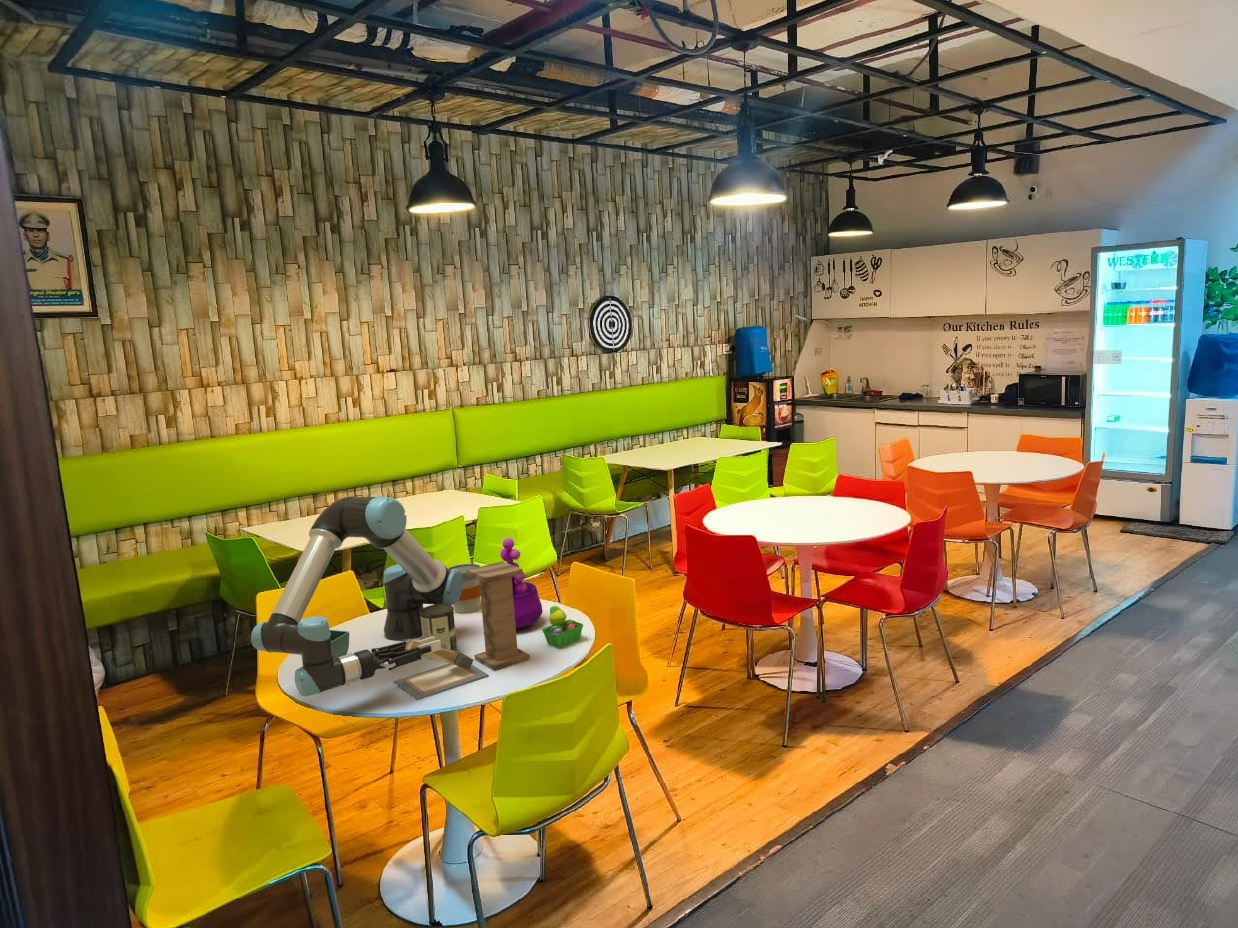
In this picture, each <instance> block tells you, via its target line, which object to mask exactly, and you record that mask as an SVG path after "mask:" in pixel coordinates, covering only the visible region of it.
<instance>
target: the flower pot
mask: <svg viewBox="0 0 1238 928" xmlns="http://www.w3.org/2000/svg"><path fill="white" fill-rule="evenodd" d="M329 630H330V632H331V644H332V653H333V659H334V658H337V657H340V656H344V655H347V654H348V652H349V647H350V631H347V630H339V629H335V630H334V629H329Z"/></svg>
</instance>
